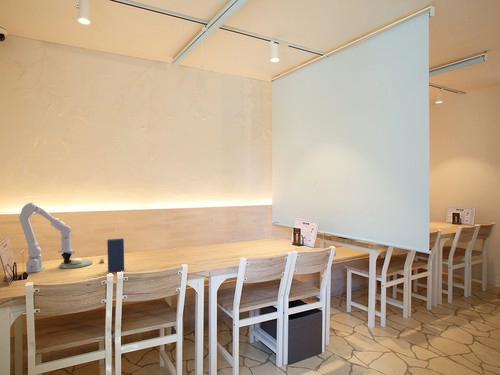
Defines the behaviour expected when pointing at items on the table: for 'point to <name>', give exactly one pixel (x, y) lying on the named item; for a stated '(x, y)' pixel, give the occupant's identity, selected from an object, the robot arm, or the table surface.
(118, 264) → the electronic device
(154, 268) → the table surface
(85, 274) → the table surface
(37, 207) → the robot arm
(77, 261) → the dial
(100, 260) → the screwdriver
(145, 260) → the table surface
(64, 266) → the dial board
